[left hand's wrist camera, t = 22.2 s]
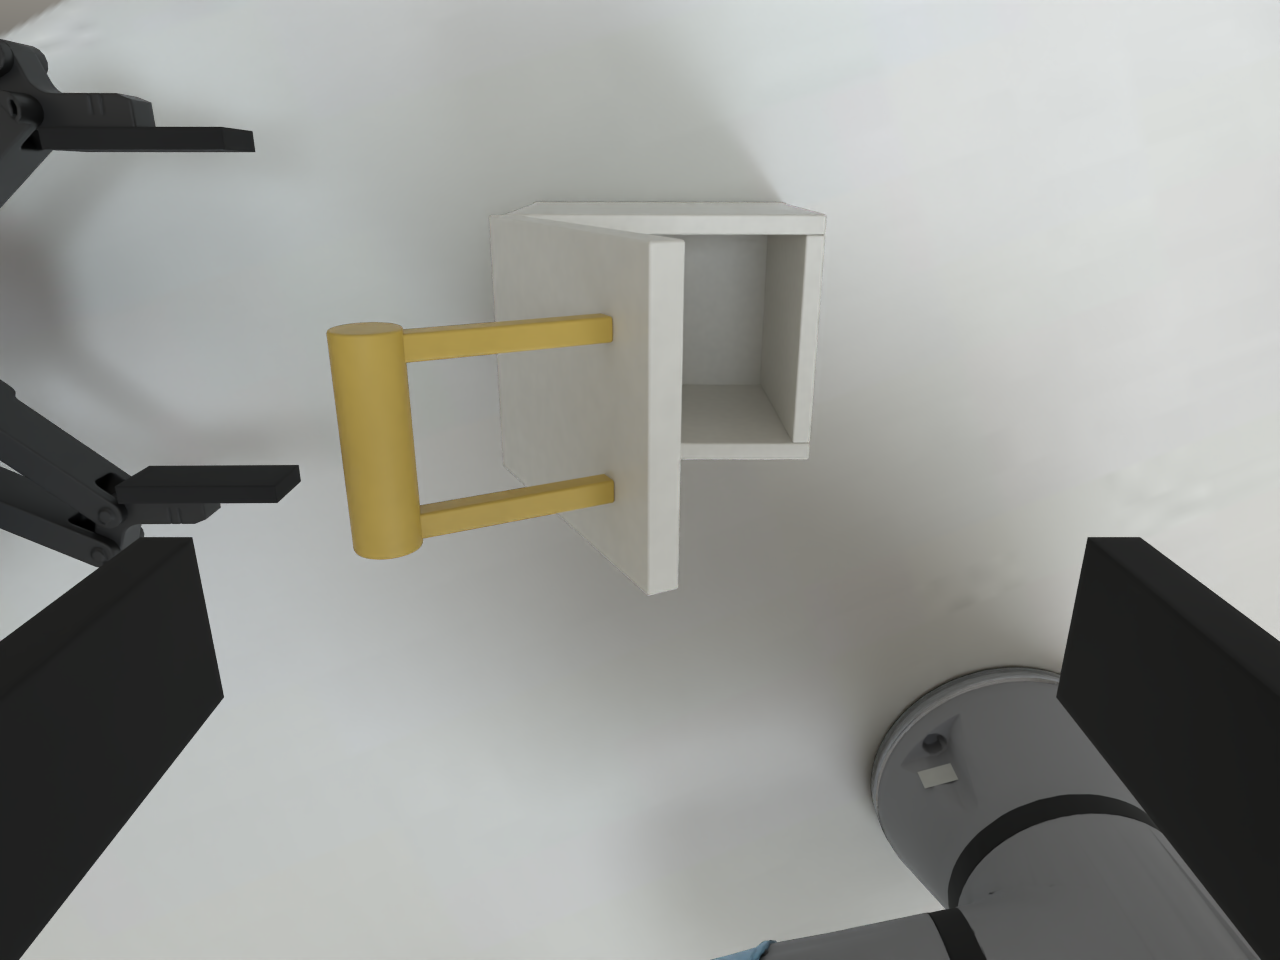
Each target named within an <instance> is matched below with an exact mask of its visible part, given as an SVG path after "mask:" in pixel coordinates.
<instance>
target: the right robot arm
mask: <svg viewBox="0 0 1280 960" xmlns="http://www.w3.org/2000/svg"><path fill="white" fill-rule="evenodd" d="M47 71H48V62H47V60H46V58H45V56H44V54H43V53H42V52H41V51H40V50H38V49H37V48H35V47H33V46H29V45H24V44H20V43H16V42H11V41H7V40H3V39H0V208H1V207H2V206H3V205H4V203H5V202H6V201H7V200H8V199H9V198H10V197H11V196H12V195H13V193H14V192H15V191H16V190H17V189H18V188H19V187H20V186H21V185H22V183H23V182H24V181H25V180H26V179H27V178H28V177H29V176H30V175H31V174H32V172H33V171H34V170H35V169H36V168H37V167H38V166H39V165H40V164H41V162H42V161H43V160H44V159H45V158H46V157H47V156H48V155H49V154H50V152H51V151H52V150H62V151H79V152H255V146H254V139H253V132H252V131H247V130H239V129H232V128H225V127H155V121H154V115H153V110H152V104H151V102H148V101H146V100H143V99H141V98H138V97H134V96H129V95H123V94H117V93H61V92H60V91H58V90H57V89H56V88H55V87H54V85H53V84H52V82H51V81H50V79H49V77H48V75H47ZM0 461H2V462H3V463H5V464H7V465H8V466H10V467H11V468H13V469H14V470H16V471H17V472H19V473H20V474H22V475H23V476H22V475H20V474H17V473H15V472H13V471H10V470H8V469H5V468H3V467H0V528H1V529H3V530H6V531H8V532H11V533H13V534H16V535H18V536H21V537H23V538H26V539H28V540H31V541H33V542H36V543H38V544H41V545H43V546H46V547H48V548H51V549H53V550H56V551H58V552H61V553H63V554H66V555H68V556H71V557H73V558H75V559H78V560H80V561H83V562H85V563H88V564H90V565H93V566H95V567H101V566H102V565H104V564H105V563H106V562H108V561H109V560H110V559H112V558H113V557H114V556H116V555H117V554H118V553H120V552H121V551H122V550H124V549H125V548H126V547H128V546H129V545H130V544H132V543H133V542H134V541H136V540H137V539H138V538H140V537H144V532H143V529H142V528H141V524H171V523H172V524H181V523H182V524H195V523H198V522H200V521H203V520H205V519H207V518H208V517H209V516H211V515H212V514H213V513H214V512H216V511H217V510H218V509H219V508H221V506H220V503H278V502H279V501H280V500H281V499H282V498H283V497H284V496H285V495H286V494H288V493H289V492H290V491H291V490H292V489H293V488H294V487H295V486H296V485H297V484H298V483H300V482H301V479H300V472H299V465H235V466H148V467H147V468H145V469H143V470H142V471H140V472H138V473H137V474H135V475H133V476H132V477H131V476H130V475H128V474H127V473H126V472H124V471H123V470H121V469H120V468H118V467H117V466H115V465H114V464H112V463H111V462H109V461H108V460H106V459H105V458H103V457H102V456H100V455H99V454H97V453H96V452H95V451H93V450H92V449H90V448H89V447H87V446H86V445H84V444H83V443H81V442H80V441H78V440H77V439H75V438H74V437H72V436H71V435H69V434H68V433H66V432H65V431H64V430H62V429H61V428H59V427H58V426H56V425H55V424H53V423H52V422H50V421H49V420H47V419H46V418H44V417H43V416H41V415H40V414H38V413H37V412H35V411H34V410H33V409H31V408H30V407H28V406H27V405H25V404H24V403H22V402H21V401H19V400H18V399H17V398H16V397H15V391H14V389H13V388H12V387H10V386H9V385H8V384H6V383H5V382H3V381H2V380H0Z"/></svg>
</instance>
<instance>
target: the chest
mask: <svg viewBox="0 0 1280 960" xmlns="http://www.w3.org/2000/svg"><path fill="white" fill-rule="evenodd" d="M505 215H520V216H527V217H534V218H540V219H547V220H554V221H561V222H568V223H575V224H581V225H588V226H595V227H602V228H609V229H615V230H622V231H629V232H636V233H643V234H649V235H656V236H663V237H670V238H677V239H682V240H684V242H685V258H684V310H683V362H682V414H681V460H807V459H808V458H809V448H810V444H809V442H810V435H811V421H812V408H813V394H814V381H815V368H816V354H817V341H818V327H819V314H820V300H821V287H822V273H823V260H824V246H825V235H824V234H825V232H826V219H827V216H826V215H825V214H822V213H818V212H814V211H810V210H807V209H803V208H799V207H795V206H792V205H788V204H786V203H783V202H534V203H533V204H531V205H529V206H526V207H523V208H521V209H518V210H515V211H513V212H510V213H507V214H505Z"/></svg>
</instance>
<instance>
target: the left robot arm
mask: <svg viewBox="0 0 1280 960" xmlns="http://www.w3.org/2000/svg"><path fill="white" fill-rule="evenodd" d="M223 698H224V695H223V690H222V685H221V680H220V675H219V669H218V664H217V659H216V654H215V649H214V644H213V639H212V634H211V629H210V624H209V619H208V614H207V609H206V604H205V599H204V594H203V589H202V584H201V579H200V574H199V569H198V564H197V559H196V554H195V549H194V544H193V539H192V537H140V538H138V539H137V540H136V541H134V542H133V543H132V544H130V545H129V546H128V547H126V548H125V549H124V550H122V551H121V552H120V553H118V554H117V555H116V556H114V557H113V558H112V559H110V560H109V561H108V562H106V563H105V564H104V565H102V566H101V567H99V568H98V569H97V570H95V571H94V572H93V573H91V574H90V575H89V576H87V577H86V578H85V579H83V580H82V581H81V582H79V583H78V584H77V585H75V586H74V587H73V588H71V589H70V590H69V591H67V592H66V593H65V594H63V595H62V596H61V597H59V598H58V599H57V600H55V601H54V602H53V603H51V604H50V605H49V606H47V607H46V608H45V609H43V610H42V611H40V612H39V613H38V614H36V615H35V616H34V617H32V618H31V619H30V620H28V621H27V622H26V623H24V624H23V625H22V626H20V627H19V628H18V629H16V630H15V631H14V632H12V633H11V634H10V635H8V636H7V637H6V638H4V639H3V640H2V641H0V960H19V959H20V958H21V957H22V955H23V954H24V953H25V951H26V950H27V949H28V948H29V946H30V945H31V944H32V942H33V941H34V940H35V939H36V937H37V936H38V935H39V933H40V932H41V931H42V930H43V928H44V927H45V926H46V924H47V923H48V922H49V921H50V919H51V918H52V917H53V916H54V914H55V913H56V912H57V910H58V909H59V908H60V907H61V905H62V904H63V903H64V901H65V900H66V899H67V898H68V896H69V895H70V894H71V892H72V891H73V890H74V889H75V887H76V886H77V885H78V884H79V882H80V881H81V880H82V878H83V877H84V876H85V875H86V873H87V872H88V871H89V869H90V868H91V867H92V866H93V864H94V863H95V862H96V860H97V859H98V858H99V857H100V855H101V854H102V853H103V851H104V850H105V849H106V848H107V846H108V845H109V844H110V843H111V841H112V840H113V839H114V837H115V836H116V835H117V834H118V832H119V831H120V830H121V828H122V827H123V826H124V825H125V823H126V822H127V821H128V819H129V818H130V817H131V816H132V814H133V813H134V812H135V811H136V809H137V808H138V807H139V805H140V804H141V803H142V802H143V800H144V799H145V798H146V796H147V795H148V794H149V793H150V791H151V790H152V789H153V787H154V786H155V785H156V784H157V782H158V781H159V780H160V779H161V777H162V776H163V775H164V773H165V772H166V771H167V770H168V768H169V767H170V766H171V764H172V763H173V762H174V761H175V759H176V758H177V757H178V755H179V754H180V753H181V752H182V750H183V749H184V748H185V746H186V745H187V744H188V743H189V741H190V740H191V739H192V738H193V736H194V735H195V734H196V732H197V731H198V730H199V729H200V727H201V726H202V725H203V723H204V722H205V721H206V720H207V718H208V717H209V716H210V714H211V713H212V712H213V711H214V709H215V708H216V707H217V706H218V704H219V703H220V702H221V700H222V699H223ZM871 792H872V799H873V804H874V807H875V810H876V814H877V816H878V819H879V822H880V825H881V827H882V830H883V832H884V834H885V836H886V838H887V840H888V841H889V843H890V845H891V846H892V848H893V849H894V851H895V853H896V854H897V855H898V857H899V858H900V859H901V861H902V862H903V863H904V864H905V865H906V866H907V867H908V868H909V869H910V870H911V871H912V873H913V874H914V875H915V876H916V877H917V878H918V879H919V881H920V882H921V883H922V884H923V885H924V886H925V887H926V888H927V889H928V890H929V892H930V893H931V894H932V895H933V896H934V897H935V898H936V899H937V900H938V901H939V902H940V904H941V905H942V906H943V907H944V908H945V909H946V910H941V911H936V912H931V913H922V914H918V915H913V916H908V917H903V918H898V919H894V920H889V921H884V922H879V923H874V924H869V925H865V926H860V927H855V928H850V929H845V930H841V931H836V932H831V933H826V934H820V935H815V936H809V937H804V938H799V939H793V940H788V941H782V942H776V941H772V940H769V941H764V942H762V943H761V944H759V945H758V946H757V947H756V948H752V949H749V950H745V951H742V952H738V953H735V954H731V955H728V956H724V957H720V958H716V959H712V960H1280V641H1278V640H1277V639H1276V638H1274V637H1273V636H1272V635H1270V634H1269V633H1268V632H1266V631H1265V630H1264V629H1262V628H1261V627H1260V626H1258V625H1257V624H1256V623H1254V622H1253V621H1252V620H1250V619H1249V618H1248V617H1246V616H1245V615H1244V614H1242V613H1241V612H1240V611H1238V610H1237V609H1235V608H1234V607H1233V606H1231V605H1230V604H1229V603H1227V602H1226V601H1225V600H1223V599H1222V598H1221V597H1219V596H1218V595H1217V594H1215V593H1214V592H1213V591H1211V590H1210V589H1209V588H1207V587H1206V586H1205V585H1203V584H1202V583H1201V582H1199V581H1198V580H1197V579H1195V578H1194V577H1193V576H1191V575H1190V574H1189V573H1187V572H1186V571H1185V570H1183V569H1182V568H1181V567H1179V566H1178V565H1176V564H1175V563H1174V562H1172V561H1171V560H1170V559H1168V558H1167V557H1166V556H1164V555H1163V554H1162V553H1160V552H1159V551H1158V550H1156V549H1155V548H1154V547H1152V546H1151V545H1150V544H1148V543H1147V542H1146V541H1144V540H1143V539H1142V538H1140V537H1088V539H1087V544H1086V549H1085V554H1084V559H1083V564H1082V569H1081V574H1080V579H1079V584H1078V589H1077V594H1076V599H1075V604H1074V609H1073V614H1072V619H1071V624H1070V629H1069V634H1068V639H1067V644H1066V649H1065V654H1064V659H1063V664H1062V669H1061V675H1060V674H1057V673H1054V672H1050V671H1045V670H1041V669H1033V668H1019V667H1013V668H998V669H990V670H985V671H980V672H976V673H972V674H969V675H966V676H963V677H960V678H957V679H955V680H952V681H950V682H948V683H946V684H944V685H942V686H940V687H938V688H936V689H934V690H933V691H931V692H929V693H928V694H926V695H925V696H923V697H922V698H920V699H919V700H918V701H917V702H915V703H914V704H913V705H912V706H910V707H909V708H908V709H907V710H906V711H905V712H904V713H903V714H902V715H901V716H900V717H899V718H898V720H897V721H896V722H895V723H894V724H893V726H892V727H891V728H890V730H889V731H888V733H887V734H886V736H885V738H884V740H883V741H882V743H881V745H880V747H879V750H878V752H877V754H876V758H875V761H874V764H873V770H872V777H871Z"/></svg>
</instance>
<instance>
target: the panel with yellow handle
mask: <svg viewBox="0 0 1280 960" xmlns="http://www.w3.org/2000/svg"><path fill="white" fill-rule="evenodd" d="M489 228H490V245H491V263H492V280H493V298H494V315H495V322H488V323H476V324H464V325H451V326H439V327H427V328H415V329H403V328H402V326H400V325H397V324H393V323H382V322H366V323H352V324H345V325H339V326H335V327H333V328H330V329H328V330H327V341H328V349H329V357H330V365H331V373H332V381H333V389H334V397H335V405H336V413H337V421H338V429H339V437H340V445H341V453H342V460H343V468H344V476H345V484H346V492H347V500H348V508H349V516H350V524H351V532H352V540H353V548H354V551H355V552H356V554H358V555H359V556H361V557H364V558H368V559H392V558H398V557H402V556H405V555H408V554H410V553H413V552H414V551H416V550H418V549H419V548H420V547H421V545H422V543H423V538H428V537H434V536H439V535H444V534H450V533H455V532H460V531H465V530H471V529H476V528H481V527H487V526H492V525H497V524H503V523H508V522H513V521H518V520H524V519H529V518H534V517H540V516H545V515H550V514H555V513H556V514H557V515H558V516H559V517H561V518H562V519H563V520H564V521H565V522H566V523H567V524H568V525H569V526H571V527H572V528H573V529H574V530H575V531H576V532H577V533H578V534H580V535H581V536H582V537H583V538H584V539H585V540H586V541H587V542H588V543H590V544H591V545H592V546H593V547H594V548H595V549H596V550H597V551H598V552H600V553H601V554H602V555H603V556H604V557H605V558H606V559H607V560H608V561H610V562H611V563H612V564H613V565H614V566H615V567H616V568H617V569H619V570H620V571H621V572H622V573H623V574H624V575H625V576H626V577H627V578H629V579H630V580H631V581H632V582H633V583H634V584H635V585H636V586H637V587H639V588H640V589H641V590H642V591H643V592H644V593H645V594H646V595H649V596H650V595H654V594H658V593H662V592H667V591H671V590H675V589H677V588H678V570H679V518H680V466H681V414H682V362H683V310H684V258H685V242H684V240H682V239H677V238H670V237H663V236H656V235H649V234H643V233H636V232H629V231H622V230H615V229H609V228H602V227H595V226H588V225H581V224H575V223H568V222H561V221H554V220H547V219H540V218H534V217H527V216H520V215H490V216H489ZM490 354H497V368H498V385H499V403H500V420H501V438H502V455H503V466H504V467H505V468H506V469H507V470H508V471H509V472H510V473H512V474H513V475H514V476H515V477H516V478H517V479H518V480H519V481H520V482H522V483H523V484H524V485H525V486H526V487H524V488H519V489H513V490H507V491H501V492H495V493H490V494H484V495H478V496H472V497H466V498H460V499H455V500H449V501H443V502H437V503H431V504H426V505H420V503H419V492H418V482H417V471H416V461H415V450H414V439H413V429H412V418H411V408H410V397H409V387H408V376H407V365H406V363H408V362H418V361H429V360H439V359H449V358H459V357H469V356H479V355H490Z"/></svg>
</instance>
